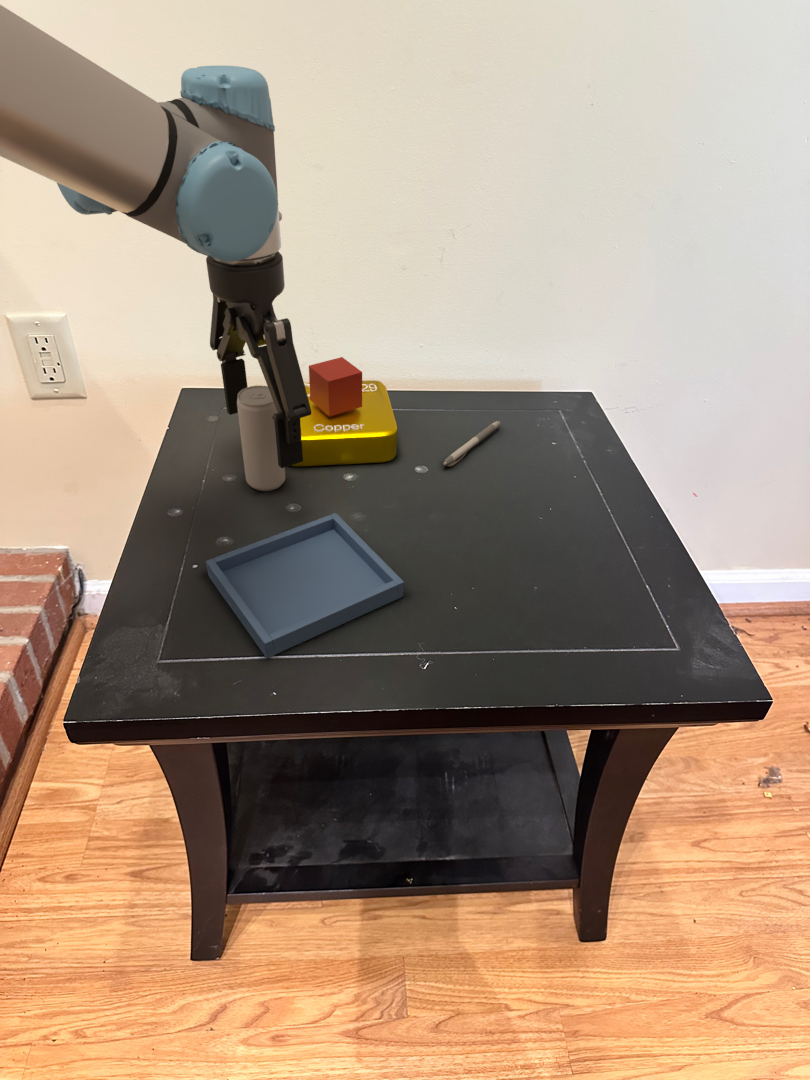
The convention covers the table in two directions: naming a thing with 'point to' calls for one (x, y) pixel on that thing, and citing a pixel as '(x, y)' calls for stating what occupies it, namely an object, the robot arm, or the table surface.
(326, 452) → the element tile
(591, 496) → the table surface
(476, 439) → the pen
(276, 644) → the slate tray
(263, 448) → the beverage can
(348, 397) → the red block
